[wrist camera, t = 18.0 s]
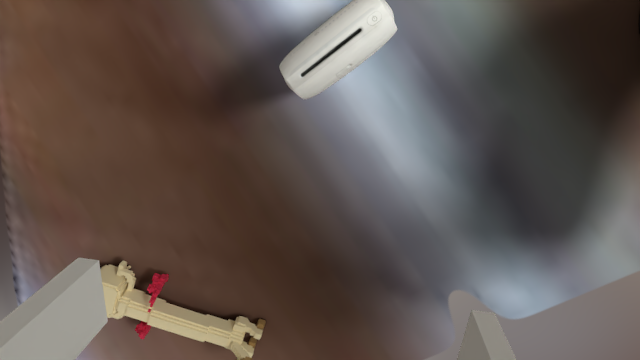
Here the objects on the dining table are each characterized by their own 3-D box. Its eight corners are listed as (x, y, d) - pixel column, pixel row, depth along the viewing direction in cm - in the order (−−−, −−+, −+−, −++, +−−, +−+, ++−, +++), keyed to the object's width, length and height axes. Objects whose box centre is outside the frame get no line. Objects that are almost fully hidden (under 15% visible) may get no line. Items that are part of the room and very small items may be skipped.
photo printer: (370, -8, 38) (375, -23, 27) (395, 29, 39) (409, 30, 28) (289, 57, 41) (263, 68, 30) (314, 90, 42) (297, 113, 31)
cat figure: (272, 300, 55) (94, 240, 51) (263, 349, 47) (51, 282, 43) (250, 349, 59) (82, 296, 55) (237, 402, 50) (40, 344, 47)
